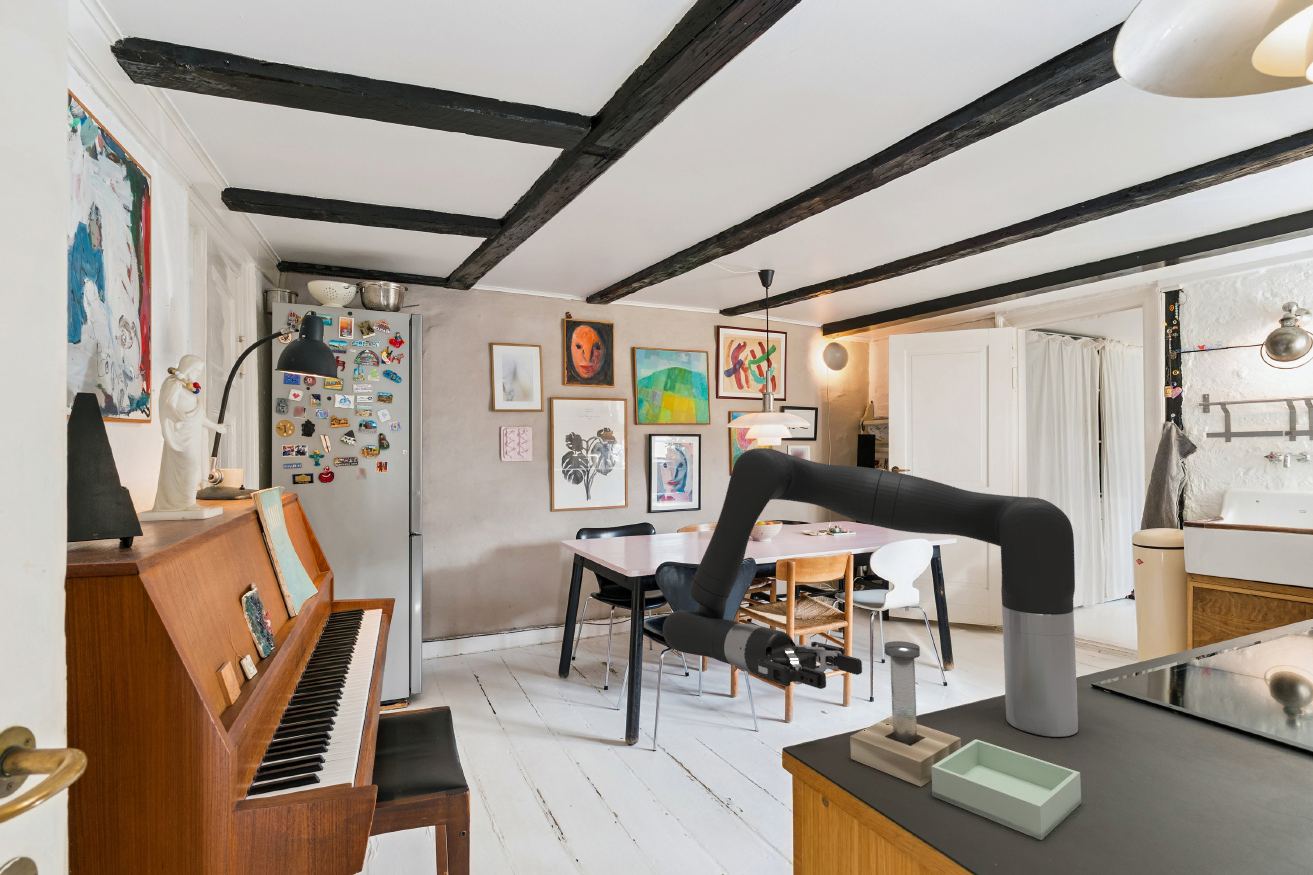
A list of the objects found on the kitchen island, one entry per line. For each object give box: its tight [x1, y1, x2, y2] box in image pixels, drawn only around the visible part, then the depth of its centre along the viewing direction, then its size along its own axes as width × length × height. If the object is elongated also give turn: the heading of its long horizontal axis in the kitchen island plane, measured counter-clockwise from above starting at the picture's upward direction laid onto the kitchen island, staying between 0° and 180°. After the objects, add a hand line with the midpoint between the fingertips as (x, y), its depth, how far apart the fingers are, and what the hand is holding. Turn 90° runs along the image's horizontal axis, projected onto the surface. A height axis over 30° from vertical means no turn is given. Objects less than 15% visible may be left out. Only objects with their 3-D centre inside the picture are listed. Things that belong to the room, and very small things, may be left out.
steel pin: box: [883, 640, 921, 746], centre depth 89 cm, size 4×4×15 cm
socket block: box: [849, 715, 962, 788], centre depth 88 cm, size 10×10×3 cm
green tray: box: [931, 738, 1082, 841], centre depth 78 cm, size 11×12×4 cm
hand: (843, 674), depth 96 cm, fingers open, 8 cm apart
